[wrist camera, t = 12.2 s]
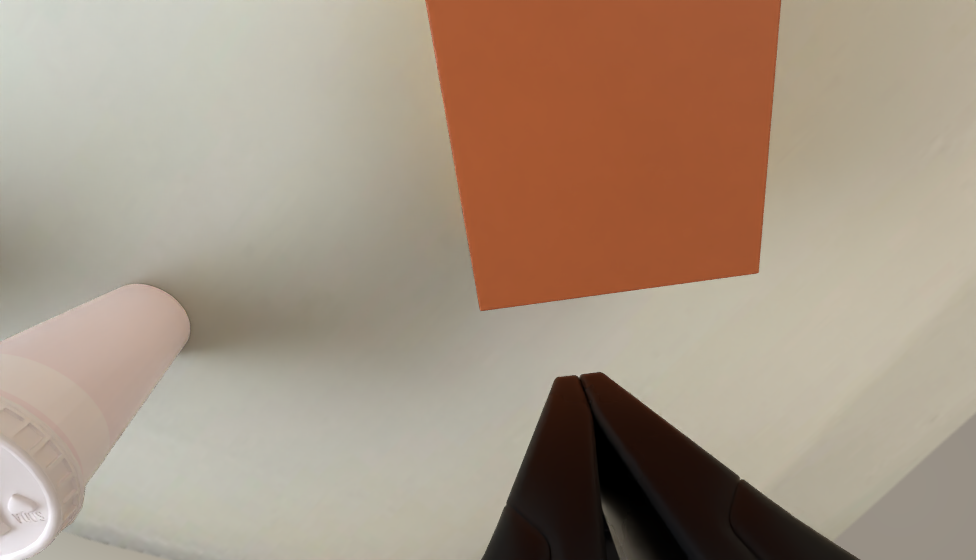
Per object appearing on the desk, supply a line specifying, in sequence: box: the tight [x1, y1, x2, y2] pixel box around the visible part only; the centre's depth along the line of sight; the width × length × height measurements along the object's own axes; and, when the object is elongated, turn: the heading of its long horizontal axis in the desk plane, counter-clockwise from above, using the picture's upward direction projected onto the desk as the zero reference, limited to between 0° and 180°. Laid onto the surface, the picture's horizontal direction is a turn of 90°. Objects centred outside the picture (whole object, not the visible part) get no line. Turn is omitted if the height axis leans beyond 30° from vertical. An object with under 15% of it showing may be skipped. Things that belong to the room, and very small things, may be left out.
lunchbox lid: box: [425, 0, 781, 311], centre depth 13 cm, size 12×8×1 cm
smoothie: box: [0, 284, 190, 560], centre depth 16 cm, size 6×6×14 cm
